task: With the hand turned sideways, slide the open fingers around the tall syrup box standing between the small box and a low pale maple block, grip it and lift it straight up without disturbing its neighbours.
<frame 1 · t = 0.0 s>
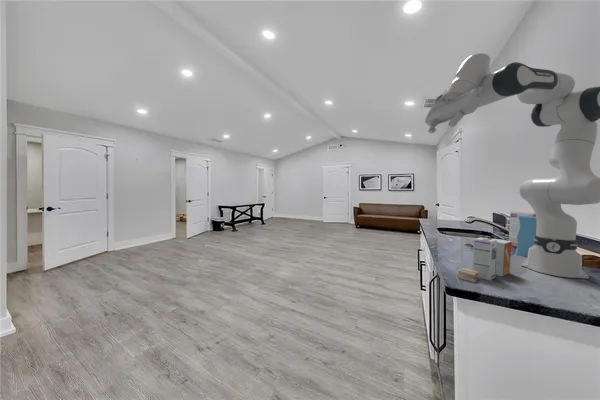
hand: (440, 129, 84), 54 cm above the worktop, tool tilted 30°, fingers open, 8 cm apart
small box: (496, 273, 95), on the worktop
maple block: (468, 279, 88), on the worktop
vase: (526, 255, 122), on the worktop
cracker box: (523, 248, 137), on the worktop
syrup box: (483, 277, 90), on the worktop
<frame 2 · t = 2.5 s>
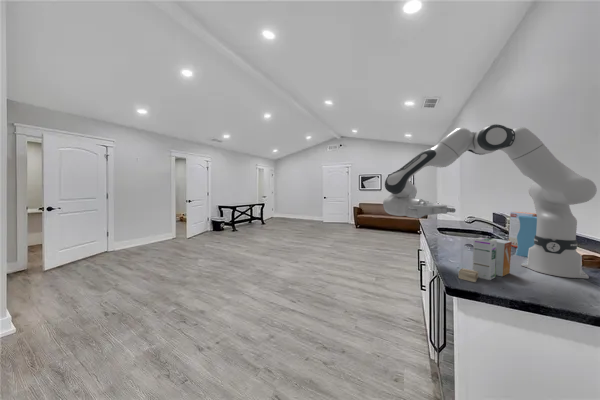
hand: (450, 211, 98), 24 cm above the worktop, tool horizontal, fingers open, 8 cm apart
nothing on the worktop moved.
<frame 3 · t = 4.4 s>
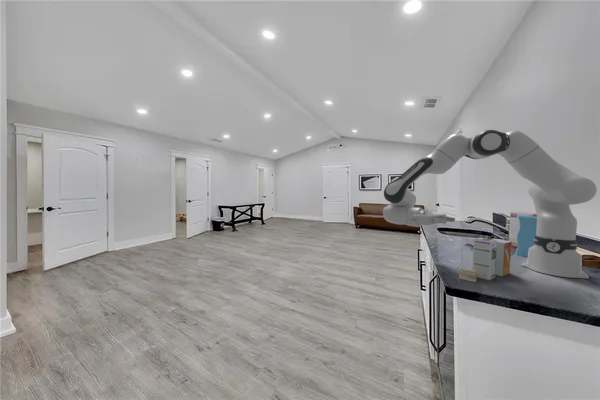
hand: (450, 220, 98), 20 cm above the worktop, tool horizontal, fingers open, 8 cm apart
nothing on the worktop moved.
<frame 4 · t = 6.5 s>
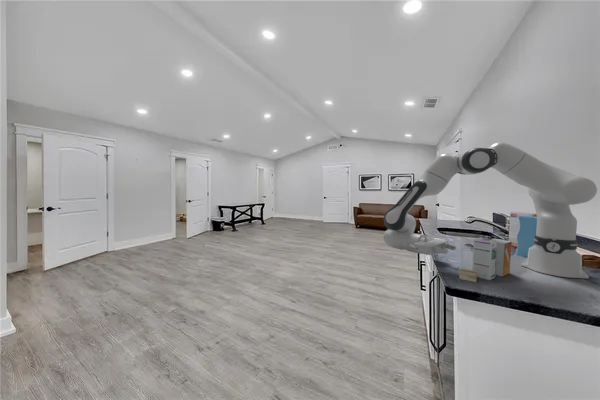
hand: (451, 249, 98), 8 cm above the worktop, tool horizontal, fingers open, 8 cm apart
nothing on the worktop moved.
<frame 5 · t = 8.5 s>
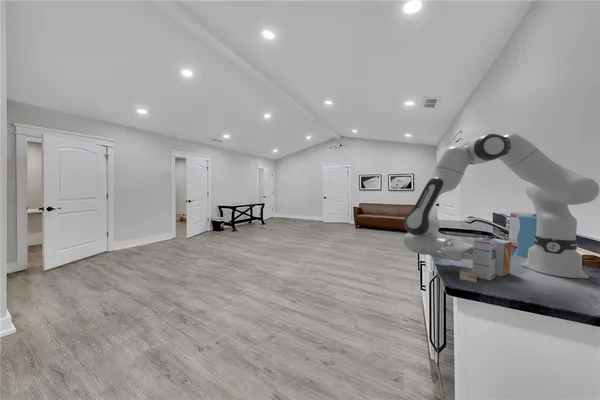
hand: (482, 255, 90), 8 cm above the worktop, tool horizontal, fingers open, 8 cm apart
nothing on the worktop moved.
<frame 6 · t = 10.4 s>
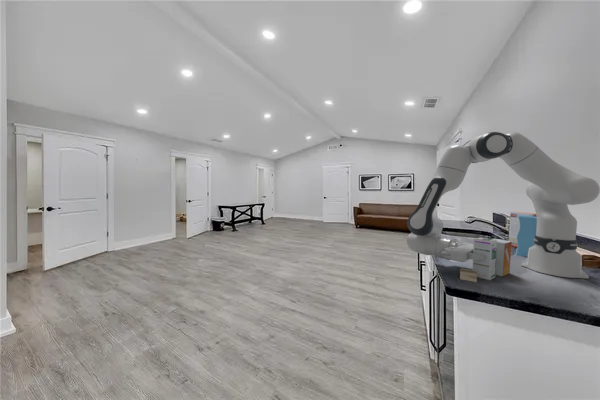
hand: (487, 256, 89), 8 cm above the worktop, tool horizontal, fingers closed on syrup box, 6 cm apart
syrup box: (483, 277, 90), on the worktop, touching gripper
everything else where it was.
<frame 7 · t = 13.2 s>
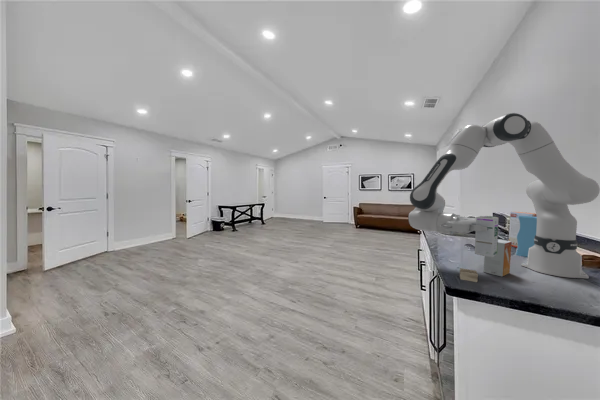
hand: (489, 228, 88), 19 cm above the worktop, tool horizontal, fingers closed on syrup box, 6 cm apart
syrup box: (485, 255, 90), point 8 cm above the worktop, touching gripper
everything else where it was.
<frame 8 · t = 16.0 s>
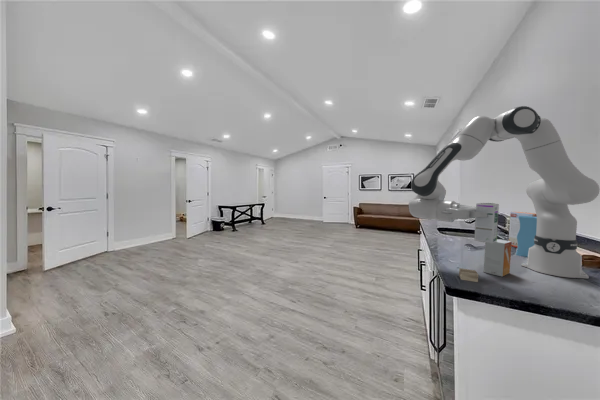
hand: (490, 214, 88), 24 cm above the worktop, tool horizontal, fingers closed on syrup box, 6 cm apart
syrup box: (485, 241, 89), point 13 cm above the worktop, touching gripper
everything else where it was.
at the end: the gripper is holding syrup box; syrup box point 13.4 cm above the worktop; small box moved 0.2 cm from its start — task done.
